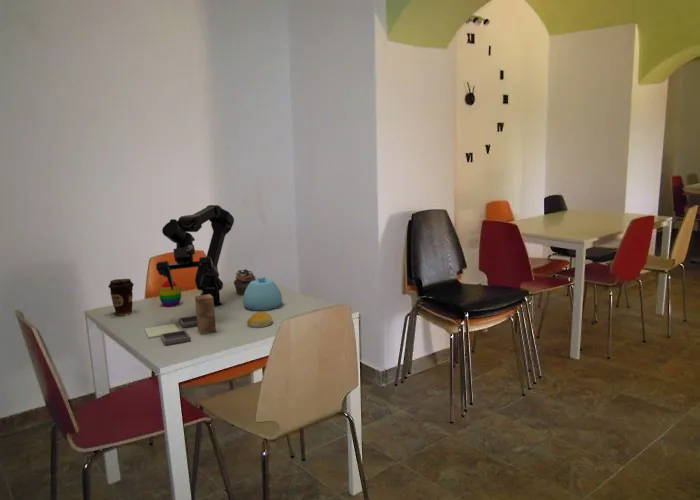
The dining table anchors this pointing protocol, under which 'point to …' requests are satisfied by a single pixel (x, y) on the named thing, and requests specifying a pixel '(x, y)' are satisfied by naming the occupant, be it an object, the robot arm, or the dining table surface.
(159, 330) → the pad
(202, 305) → the walnut block
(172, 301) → the decorative egg
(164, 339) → the tray
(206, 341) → the dining table surface
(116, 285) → the coffee cup
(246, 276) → the cupcake
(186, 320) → the tray
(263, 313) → the bread roll
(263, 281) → the sugar bowl
